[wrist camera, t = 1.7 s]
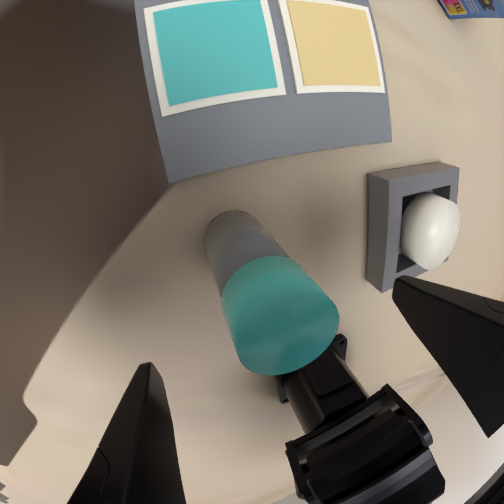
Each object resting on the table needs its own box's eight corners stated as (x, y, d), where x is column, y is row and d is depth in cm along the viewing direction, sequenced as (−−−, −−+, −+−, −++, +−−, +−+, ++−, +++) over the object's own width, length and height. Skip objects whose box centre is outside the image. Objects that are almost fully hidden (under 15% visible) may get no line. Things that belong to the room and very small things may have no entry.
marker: (267, 256, 16) (336, 353, 9) (210, 273, 16) (248, 386, 9) (258, 202, 15) (340, 278, 8) (195, 218, 14) (225, 316, 7)
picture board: (383, 140, 15) (395, 142, 14) (169, 180, 13) (168, 184, 12) (352, -24, 9) (361, -30, 8) (132, -24, 7) (130, -33, 6)
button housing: (432, 250, 21) (447, 260, 19) (365, 279, 19) (381, 293, 18) (440, 161, 17) (459, 167, 15) (367, 173, 16) (388, 180, 14)
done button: (436, 246, 19) (453, 257, 17) (394, 265, 18) (413, 279, 16) (443, 187, 16) (463, 195, 14) (400, 198, 15) (422, 208, 14)
